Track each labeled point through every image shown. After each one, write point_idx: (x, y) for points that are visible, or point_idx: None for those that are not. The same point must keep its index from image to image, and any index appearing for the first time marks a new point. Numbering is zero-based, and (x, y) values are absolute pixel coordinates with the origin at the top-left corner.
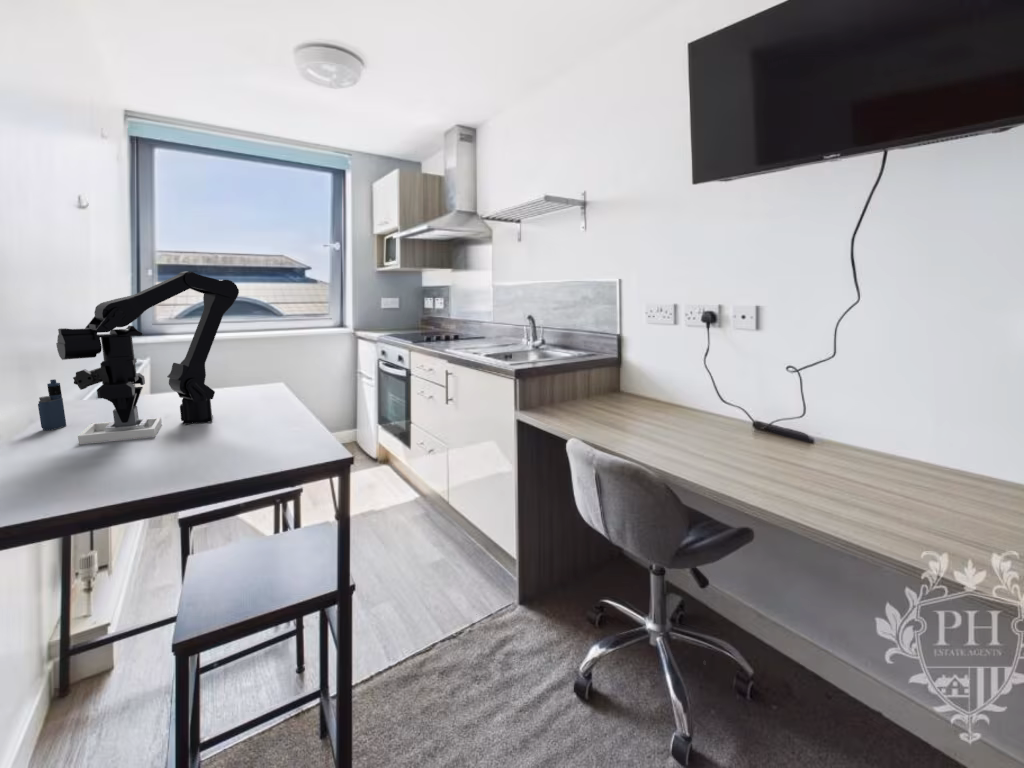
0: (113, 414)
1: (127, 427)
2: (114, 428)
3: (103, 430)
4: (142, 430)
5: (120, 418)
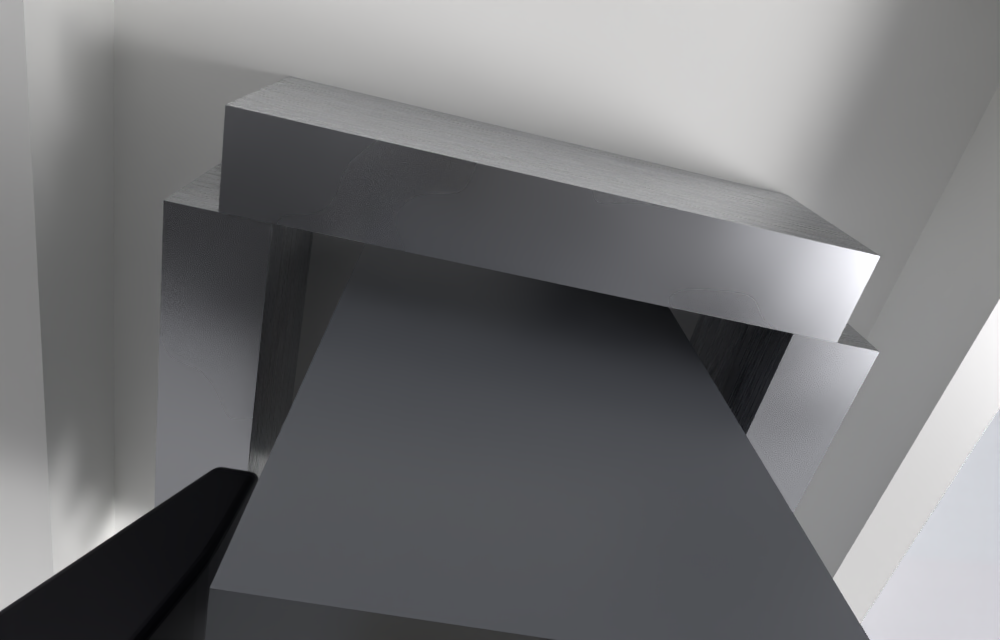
0: (261, 482)
1: (166, 464)
2: (167, 277)
3: (963, 70)
4: (2, 592)
5: (126, 527)
